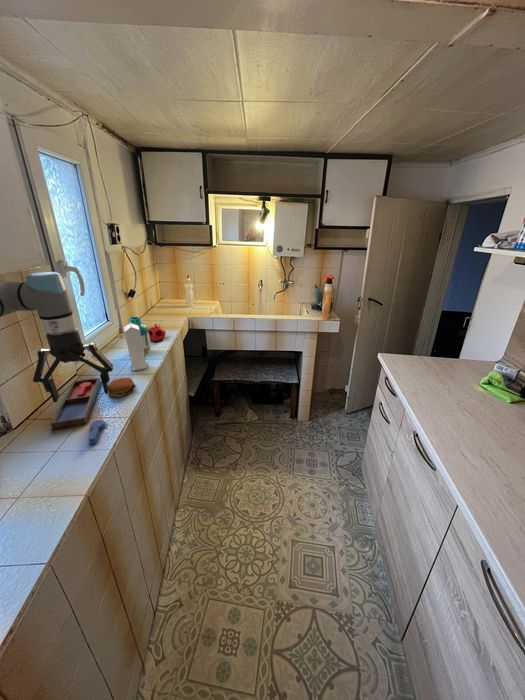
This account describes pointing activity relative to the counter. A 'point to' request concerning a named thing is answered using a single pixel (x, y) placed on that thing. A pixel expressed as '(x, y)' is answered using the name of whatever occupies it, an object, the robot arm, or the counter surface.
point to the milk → (135, 347)
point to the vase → (142, 332)
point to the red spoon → (84, 388)
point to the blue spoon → (96, 430)
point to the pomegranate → (156, 333)
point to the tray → (76, 405)
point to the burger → (121, 387)
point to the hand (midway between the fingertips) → (82, 395)
